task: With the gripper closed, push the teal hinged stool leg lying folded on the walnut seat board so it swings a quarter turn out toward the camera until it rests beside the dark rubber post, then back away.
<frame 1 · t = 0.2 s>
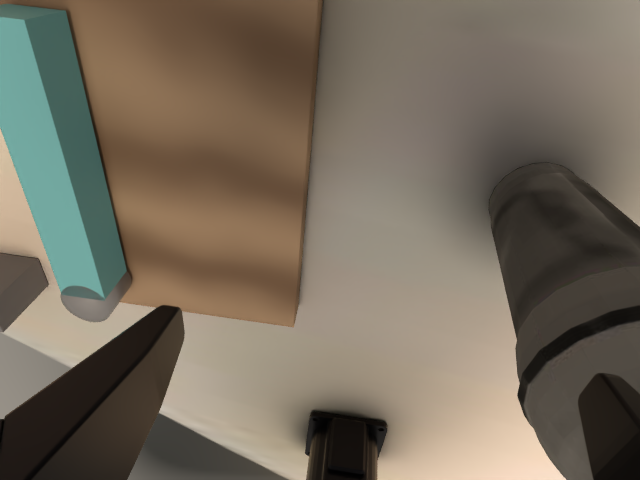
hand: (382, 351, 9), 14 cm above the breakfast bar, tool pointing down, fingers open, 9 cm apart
leg: (68, 191, 21), point 4 cm above the breakfast bar, hinge at 0.0°
seat board: (182, 156, 23), on the breakfast bar
beverage cup: (532, 199, 22), on the breakfast bar
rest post: (2, 266, 30), on the breakfast bar
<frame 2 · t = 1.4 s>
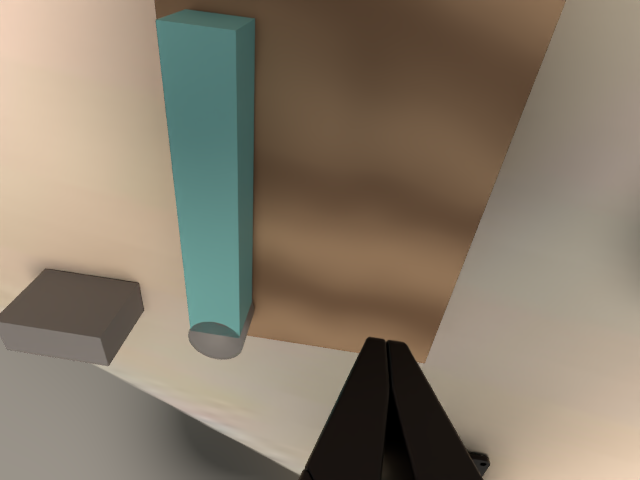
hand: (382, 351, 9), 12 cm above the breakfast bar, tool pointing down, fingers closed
leg: (218, 220, 19), point 4 cm above the breakfast bar, hinge at 0.0°
seat board: (329, 178, 21), on the breakfast bar
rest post: (95, 290, 27), on the breakfast bar
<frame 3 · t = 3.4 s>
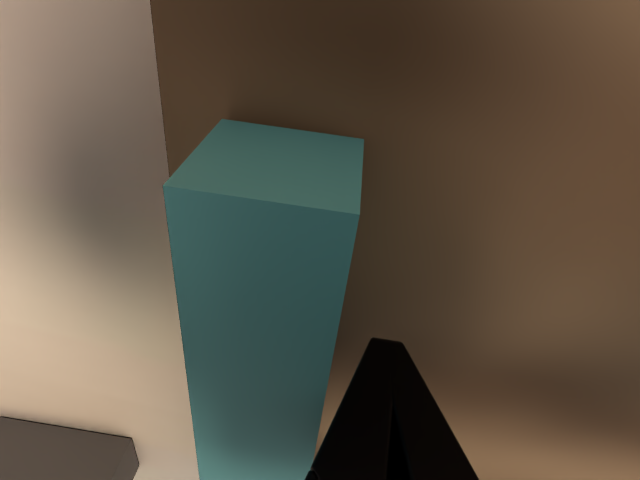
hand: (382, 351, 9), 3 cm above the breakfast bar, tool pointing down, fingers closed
leg: (264, 441, 11), point 4 cm above the breakfast bar, hinge at 0.2°, touching gripper
seat board: (432, 339, 13), on the breakfast bar
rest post: (71, 442, 19), on the breakfast bar
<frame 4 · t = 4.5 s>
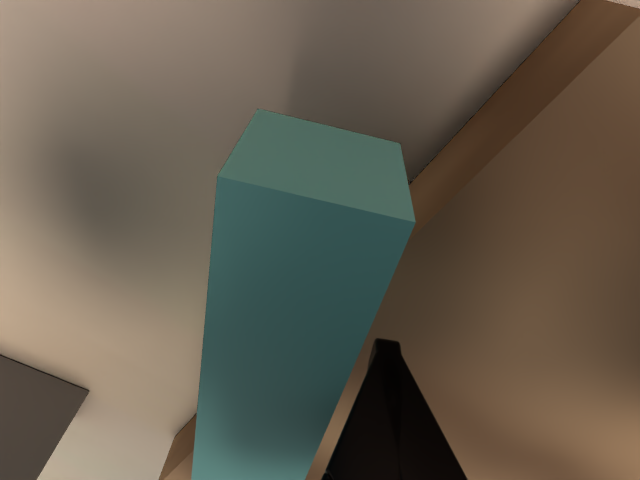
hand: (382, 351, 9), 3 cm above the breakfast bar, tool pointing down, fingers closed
leg: (255, 435, 11), point 4 cm above the breakfast bar, hinge at 21.5°, touching gripper
seat board: (464, 394, 15), on the breakfast bar
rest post: (5, 375, 16), on the breakfast bar
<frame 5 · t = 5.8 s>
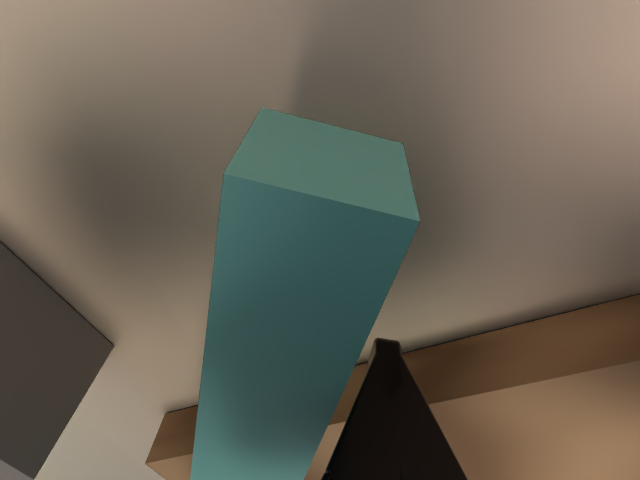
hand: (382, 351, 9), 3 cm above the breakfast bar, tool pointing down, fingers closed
leg: (254, 434, 11), point 4 cm above the breakfast bar, hinge at 50.4°, touching gripper
seat board: (460, 458, 17), on the breakfast bar
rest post: (23, 297, 14), on the breakfast bar
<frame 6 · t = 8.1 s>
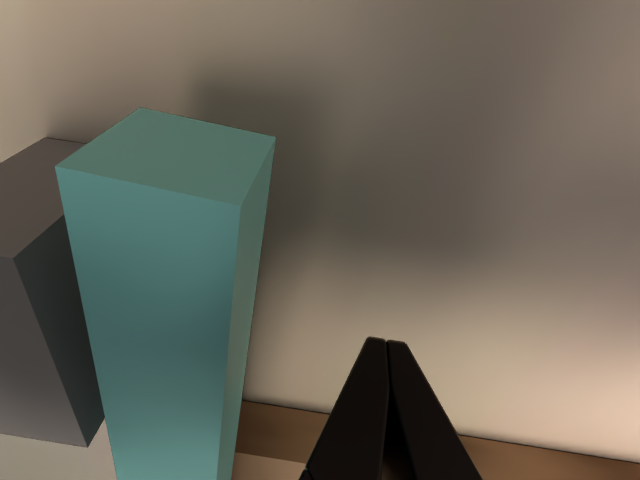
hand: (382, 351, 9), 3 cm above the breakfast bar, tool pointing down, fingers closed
leg: (184, 424, 11), point 4 cm above the breakfast bar, hinge at 85.7°
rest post: (111, 240, 12), on the breakfast bar
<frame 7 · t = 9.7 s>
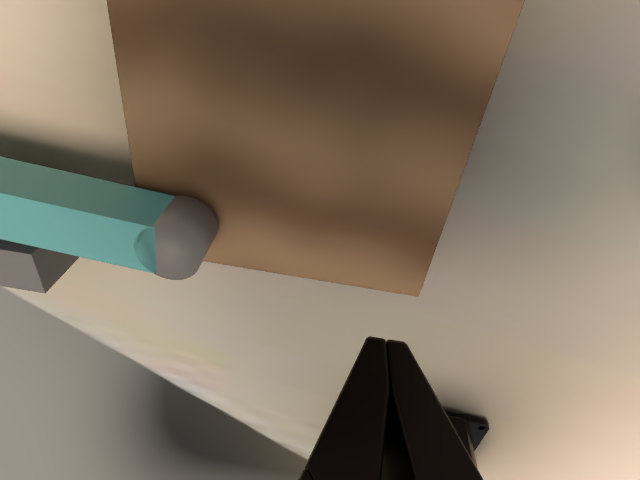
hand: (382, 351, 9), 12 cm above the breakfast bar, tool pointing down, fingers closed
leg: (31, 204, 18), point 4 cm above the breakfast bar, hinge at 85.7°
seat board: (306, 55, 17), on the breakfast bar
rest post: (38, 213, 23), on the breakfast bar
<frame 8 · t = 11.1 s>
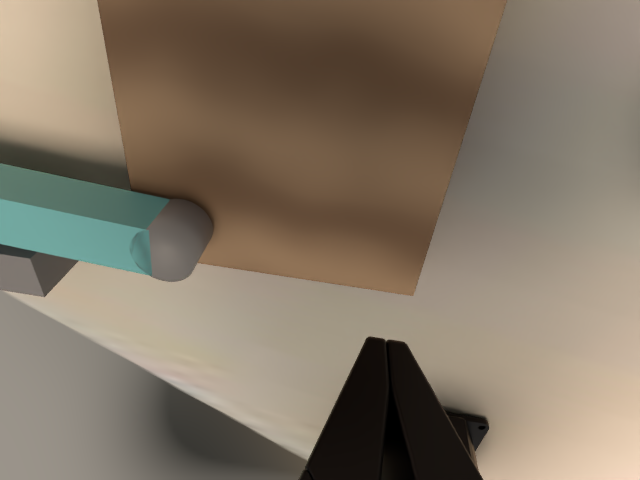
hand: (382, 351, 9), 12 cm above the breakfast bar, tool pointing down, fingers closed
leg: (29, 209, 19), point 4 cm above the breakfast bar, hinge at 85.7°
seat board: (296, 59, 17), on the breakfast bar
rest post: (38, 218, 24), on the breakfast bar
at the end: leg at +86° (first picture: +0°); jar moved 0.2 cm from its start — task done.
